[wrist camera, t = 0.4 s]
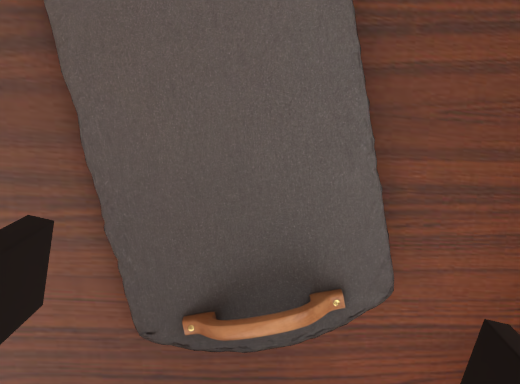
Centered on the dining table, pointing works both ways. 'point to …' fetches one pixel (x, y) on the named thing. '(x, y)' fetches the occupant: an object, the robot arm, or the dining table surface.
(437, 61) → the dining table surface
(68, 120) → the dining table surface
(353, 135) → the serving tray
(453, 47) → the dining table surface
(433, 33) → the dining table surface
